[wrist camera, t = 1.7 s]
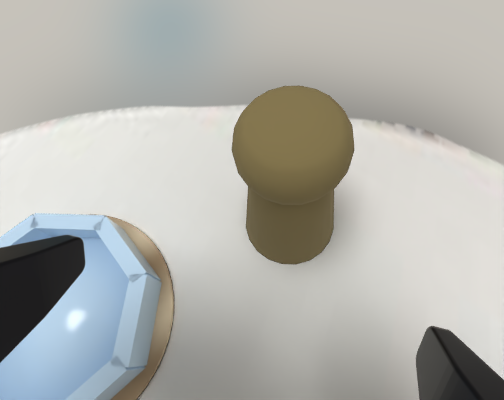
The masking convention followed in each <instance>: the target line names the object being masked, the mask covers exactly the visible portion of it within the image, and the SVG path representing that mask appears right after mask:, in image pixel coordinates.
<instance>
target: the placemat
mask: <svg viewBox="0 0 504 400" xmlns="http://www.w3.org/2000/svg"><path fill="white" fill-rule="evenodd" d="M106 217H108V218H109V219H110V220H112V221H113V222H114V223H116V224H117V225H118V226H120V227H121V228H123V229H124V230H125V232H126V233H127V235H128V236H129V237H130V239H131V240H132V241H133V243H134V244H135V245H136V247H137V248H138V249H139V251H140V252H141V254H142V255H143V256H144V258H145V259H146V260H147V262H148V263H149V264H150V266H151V267H152V268H153V270H154V271H155V273H156V274H157V275H158V277H159V278H160V279H161V281H160V282H161V283H162V284H161V290H160V295H159V301H158V306H157V312H156V318H155V323H154V329H153V334H152V340H151V346H150V351H149V357H148V362H147V365H145V369H144V370H143V371H142V372H140V373H139V374H138V375H137V376H136V377H135V378H134V379H133V380H132V381H130V382H129V383H128V384H127V385H126V386H125V387H124V388H123V389H122V390H121V391H119V392H118V393H117V394H116V395H115V396H114V397H113V398H112V399H111V400H137V398H138V397H139V396H140V394H141V393H142V392H143V390H144V389H145V388H146V387H147V385H148V383H149V382H150V380H151V379H152V377H153V375H154V374H155V372H156V370H157V368H158V366H159V364H160V362H161V359H162V357H163V355H164V352H165V349H166V346H167V343H168V340H169V337H170V332H171V327H172V322H173V312H174V295H173V287H172V281H171V277H170V274H169V270H168V267H167V265H166V263H165V261H164V258H163V256H162V255H161V253H160V252H159V250H158V248H157V247H156V246H155V244H154V243H153V242H152V241H151V240H150V239H149V238H148V237H147V236H146V235H145V234H143V233H142V232H141V231H140V230H139V229H137V228H136V227H134V226H132V225H131V224H129V223H127V222H125V221H122V220H120V219H117V218H113V217H109V216H106Z"/></svg>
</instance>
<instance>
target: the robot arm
mask: <svg viewBox="0 0 504 400" xmlns="http://www.w3.org/2000/svg"><path fill="white" fill-rule="evenodd" d="M84 268H85V251H84V242H83V240H82V239H81V238H80V237H76V236H72V235H61V236H56V237H51V238H46V239H41V240H36V241H31V242H26V243H21V244H16V245H11V246H6V247H1V248H0V363H1V362H2V361H3V360H4V359H5V358H6V357H7V356H8V355H9V354H10V353H11V352H12V351H13V350H14V349H15V347H16V346H17V345H18V344H19V343H20V342H21V341H22V340H23V339H24V338H25V337H26V336H27V335H28V334H29V333H30V332H31V331H32V330H33V329H34V328H35V327H36V326H37V325H38V324H39V323H40V322H41V321H42V320H43V319H44V318H45V317H46V315H47V314H48V313H49V312H50V311H51V310H52V308H53V307H54V306H55V305H56V304H57V302H58V301H59V300H60V299H61V297H62V296H63V295H64V294H65V293H66V291H67V290H68V289H69V288H70V287H71V285H72V284H73V283H74V282H75V280H76V279H77V278H78V277H79V276H80V274H81V273H82V272H83V270H84ZM416 368H417V378H418V388H419V398H420V400H504V380H503V379H502V378H501V377H500V376H499V375H498V374H497V373H496V372H495V371H493V370H492V369H491V368H490V367H489V366H488V365H487V364H486V363H485V362H484V361H483V360H482V359H480V358H479V357H478V356H477V355H476V354H475V353H474V352H473V351H472V350H471V349H470V348H469V347H467V346H466V345H465V344H464V343H463V342H462V341H461V340H460V339H459V338H458V337H457V336H456V335H454V334H453V333H452V332H451V331H449V330H447V329H443V328H439V327H435V326H430V327H428V328H427V330H426V332H425V334H424V337H423V339H422V342H421V344H420V347H419V349H418V352H417V355H416Z"/></svg>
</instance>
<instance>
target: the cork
mask: <svg viewBox="0 0 504 400" xmlns="http://www.w3.org/2000/svg"><path fill="white" fill-rule="evenodd" d="M232 153H233V156H234V160H235V163H236V167H237V170H238V173H239V175H240V176H241V177H242V179H243V180H244V181H245V183H246V184H247V185H248V199H247V217H246V229H247V233H248V236H249V240H250V241H251V243H252V244H253V246H254V247H255V248H256V250H257V251H258V252H259V253H261V254H262V255H263V256H265V257H266V258H267V259H269V260H272V261H275V262H278V263H281V264H299V263H302V262H306V261H309V260H311V259H313V258H314V257H315V256H317V255H318V254H320V253H321V252H322V251H323V250H324V248H325V247H326V245H327V244H328V243H329V241H330V238H331V235H332V231H333V220H334V188H335V187H336V186H337V185H338V184H339V182H340V181H341V180H342V179H343V177H344V176H345V175H346V173H347V171H348V169H349V166H350V163H351V160H352V156H353V153H354V139H353V129H352V124H351V122H350V120H349V119H348V117H347V115H346V113H345V111H344V110H343V109H342V107H341V106H340V105H339V104H338V103H337V102H336V101H335V100H334V99H332V98H331V97H330V96H329V95H327V94H325V93H323V92H321V91H319V90H317V89H313V88H308V87H304V86H283V87H280V88H276V89H272V90H269V91H267V92H265V93H264V94H262V95H260V96H258V97H257V98H255V99H254V100H253V101H252V102H251V103H250V104H249V105H248V106H247V107H246V109H245V110H244V111H243V112H242V113H241V115H240V117H239V119H238V121H237V123H236V125H235V127H234V133H233V143H232Z"/></svg>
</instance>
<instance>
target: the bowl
mask: <svg viewBox="0 0 504 400" xmlns="http://www.w3.org/2000/svg"><path fill="white" fill-rule="evenodd" d="M61 235H72V236H76V237H80V238H81V239H82V240H83V242H84V251H85V268H84V270H83V272H82V273H81V274H80V276H79V277H78V278H77V279H76V280H75V282H74V283H73V284H72V285H71V287H70V288H69V289H68V290H67V291H66V293H65V294H64V295H63V296H62V297H61V299H60V300H59V301H58V302H57V304H56V305H55V306H54V307H53V308H52V310H51V311H50V312H49V313H48V314H47V315H46V317H45V318H44V319H43V320H42V321H41V322H40V323H39V324H38V325H37V326H36V327H35V328H34V329H33V330H32V331H31V332H30V333H29V334H28V335H27V336H26V337H25V338H24V339H23V340H22V341H21V342H20V343H19V344H18V345H17V346H16V347H15V349H14V350H13V351H12V352H11V353H10V354H9V355H8V356H7V357H6V358H5V359H4V360H3V361H2V362H1V363H0V400H111V399H112V398H113V397H114V396H115V395H116V394H117V393H118V392H119V391H121V390H122V389H123V388H124V387H125V386H126V385H127V384H128V383H129V382H130V381H132V380H133V379H134V378H135V377H136V376H137V375H138V374H139V373H140V372H142V371H143V370H144V369H145V365H147V362H148V357H149V351H150V346H151V340H152V334H153V329H154V323H155V318H156V312H157V306H158V301H159V295H160V290H161V284H162V283H161V282H160V281H161V279H160V278H159V277H158V275H157V274H156V273H155V271H154V270H153V268H152V267H151V266H150V264H149V263H148V262H147V260H146V259H145V258H144V256H143V255H142V254H141V252H140V251H139V249H138V248H137V247H136V245H135V244H134V243H133V241H132V240H131V239H130V237H129V236H128V235H127V233H126V232H125V230H124V229H123V228H121V227H120V226H118V225H117V224H116V223H114V222H113V221H112V220H110V219H109V218H108V217H106V216H104V215H75V214H40V213H35V215H33V214H32V215H31V216H29V217H28V218H27V219H25V220H24V221H22V222H21V223H19V224H18V225H17V226H15V227H14V228H12V229H11V230H10V231H8V232H7V233H5V234H4V235H3V236H1V237H0V248H1V247H6V246H11V245H16V244H21V243H26V242H31V241H36V240H41V239H46V238H51V237H56V236H61Z"/></svg>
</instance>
